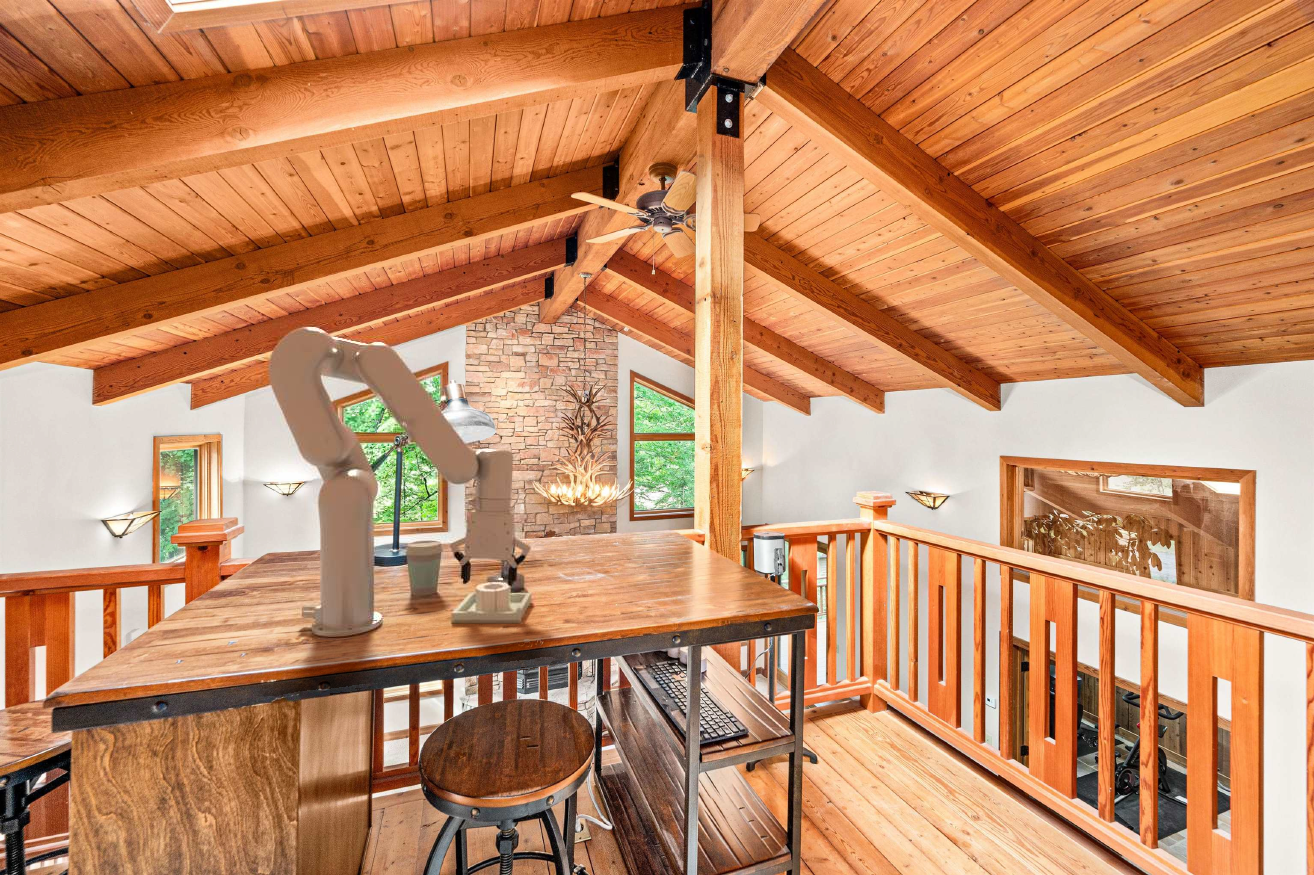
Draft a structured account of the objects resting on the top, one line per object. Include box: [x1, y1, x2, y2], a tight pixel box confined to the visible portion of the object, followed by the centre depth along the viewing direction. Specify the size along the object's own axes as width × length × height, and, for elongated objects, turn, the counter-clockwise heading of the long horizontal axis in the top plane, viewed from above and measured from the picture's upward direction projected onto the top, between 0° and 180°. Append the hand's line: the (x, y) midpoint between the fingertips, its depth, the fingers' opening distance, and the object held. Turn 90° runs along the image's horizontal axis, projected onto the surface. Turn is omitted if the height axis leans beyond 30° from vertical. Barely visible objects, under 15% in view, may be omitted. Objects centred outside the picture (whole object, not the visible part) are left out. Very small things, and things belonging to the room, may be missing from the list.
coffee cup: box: [404, 539, 444, 597], centre depth 140 cm, size 8×8×12 cm
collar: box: [475, 582, 511, 612], centre depth 127 cm, size 7×7×5 cm
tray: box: [450, 592, 532, 624], centre depth 127 cm, size 14×14×2 cm
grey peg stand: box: [486, 559, 525, 593], centre depth 143 cm, size 9×9×8 cm
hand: (488, 583), depth 126 cm, fingers open, 9 cm apart
